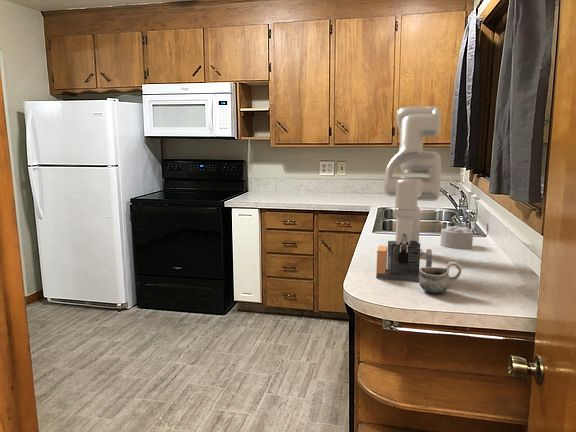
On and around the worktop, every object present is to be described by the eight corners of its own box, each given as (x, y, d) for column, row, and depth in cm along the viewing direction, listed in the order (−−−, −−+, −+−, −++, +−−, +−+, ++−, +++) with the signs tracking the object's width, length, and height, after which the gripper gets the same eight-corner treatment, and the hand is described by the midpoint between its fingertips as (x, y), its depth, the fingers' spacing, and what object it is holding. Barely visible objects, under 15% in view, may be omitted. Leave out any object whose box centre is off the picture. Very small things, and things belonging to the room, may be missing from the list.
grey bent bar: (377, 272, 172) (378, 246, 170) (429, 275, 168) (431, 249, 166) (376, 278, 164) (377, 251, 163) (430, 282, 160) (432, 255, 158)
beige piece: (472, 249, 206) (474, 230, 205) (441, 248, 209) (442, 228, 208) (469, 244, 216) (471, 225, 215) (439, 242, 219) (440, 224, 218)
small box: (414, 267, 178) (416, 239, 177) (419, 272, 172) (421, 243, 170) (386, 267, 178) (387, 239, 176) (390, 272, 172) (391, 243, 170)
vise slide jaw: (377, 267, 172) (378, 245, 170) (386, 267, 171) (387, 245, 169) (376, 273, 164) (377, 250, 163) (385, 274, 163) (386, 251, 162)
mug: (415, 286, 156) (416, 256, 154) (454, 287, 155) (456, 257, 153) (421, 296, 147) (423, 264, 145) (463, 297, 146) (465, 265, 144)
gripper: (395, 210, 181) (393, 254, 183) (394, 216, 164) (391, 265, 167) (416, 210, 179) (413, 255, 181) (416, 217, 162) (414, 266, 165)
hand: (403, 260), depth 174 cm, fingers open, 9 cm apart
